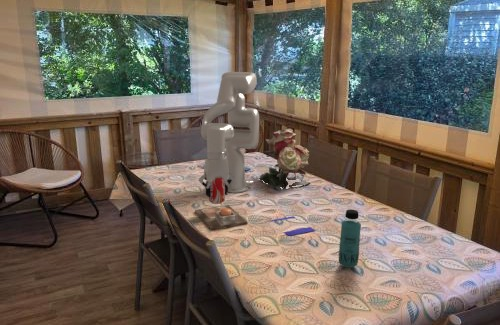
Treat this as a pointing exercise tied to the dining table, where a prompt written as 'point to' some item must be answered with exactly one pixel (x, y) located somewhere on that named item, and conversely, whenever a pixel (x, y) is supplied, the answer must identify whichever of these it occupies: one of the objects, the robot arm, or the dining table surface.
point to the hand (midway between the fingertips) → (216, 194)
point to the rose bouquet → (285, 159)
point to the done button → (225, 212)
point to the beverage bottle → (349, 240)
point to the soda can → (217, 190)
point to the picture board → (220, 217)
